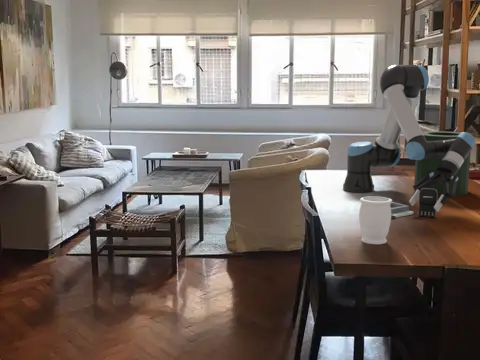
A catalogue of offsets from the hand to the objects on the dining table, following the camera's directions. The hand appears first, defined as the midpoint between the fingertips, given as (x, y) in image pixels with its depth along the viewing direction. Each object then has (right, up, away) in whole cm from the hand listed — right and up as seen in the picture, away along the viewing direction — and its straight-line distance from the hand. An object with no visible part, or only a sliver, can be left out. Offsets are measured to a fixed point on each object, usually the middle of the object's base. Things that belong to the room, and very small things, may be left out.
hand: (423, 206), depth 234 cm
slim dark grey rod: (-16, -4, +5) cm, 18 cm away
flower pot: (+26, +5, +55) cm, 60 cm away
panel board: (-11, -3, +9) cm, 14 cm away
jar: (-27, -11, -32) cm, 44 cm away
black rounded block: (+2, -4, +2) cm, 5 cm away
